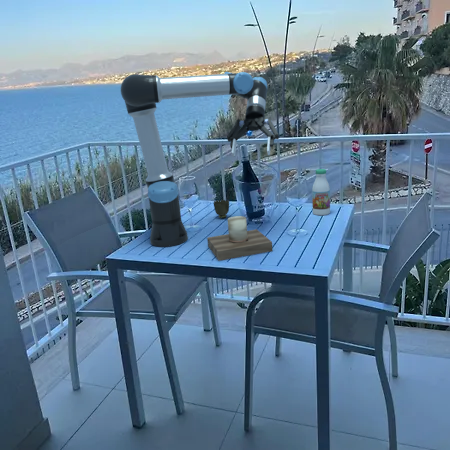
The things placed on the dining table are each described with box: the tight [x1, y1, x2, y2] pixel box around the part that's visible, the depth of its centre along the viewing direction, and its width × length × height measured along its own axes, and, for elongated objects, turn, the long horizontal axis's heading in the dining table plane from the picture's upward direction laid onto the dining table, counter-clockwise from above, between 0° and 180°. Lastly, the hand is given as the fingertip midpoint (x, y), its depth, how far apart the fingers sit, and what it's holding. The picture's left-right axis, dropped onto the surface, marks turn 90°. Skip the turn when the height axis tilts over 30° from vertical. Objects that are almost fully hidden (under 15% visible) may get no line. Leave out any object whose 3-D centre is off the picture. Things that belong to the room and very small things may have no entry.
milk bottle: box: [311, 168, 331, 216], centre depth 182 cm, size 8×8×20 cm
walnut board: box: [206, 229, 273, 262], centre depth 150 cm, size 16×20×4 cm
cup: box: [213, 199, 230, 219], centre depth 190 cm, size 8×7×8 cm
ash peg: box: [227, 215, 248, 243], centre depth 149 cm, size 7×7×11 cm
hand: (250, 153), depth 155 cm, fingers open, 13 cm apart
